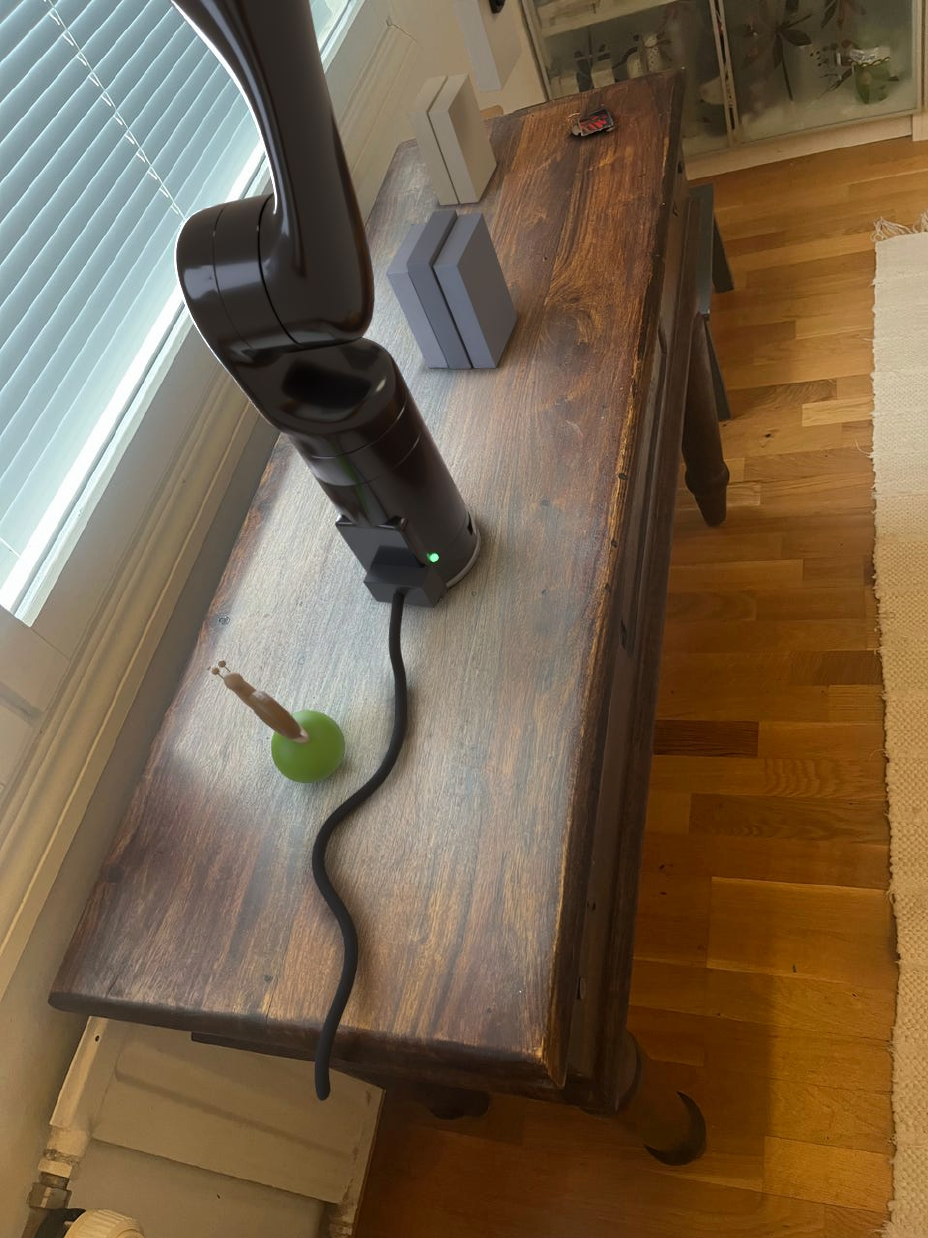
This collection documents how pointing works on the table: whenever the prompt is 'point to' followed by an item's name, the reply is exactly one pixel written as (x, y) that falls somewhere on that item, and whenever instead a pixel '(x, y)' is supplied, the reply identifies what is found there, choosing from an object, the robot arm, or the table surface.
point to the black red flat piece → (593, 122)
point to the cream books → (452, 139)
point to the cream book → (489, 41)
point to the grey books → (453, 291)
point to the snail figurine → (293, 733)
